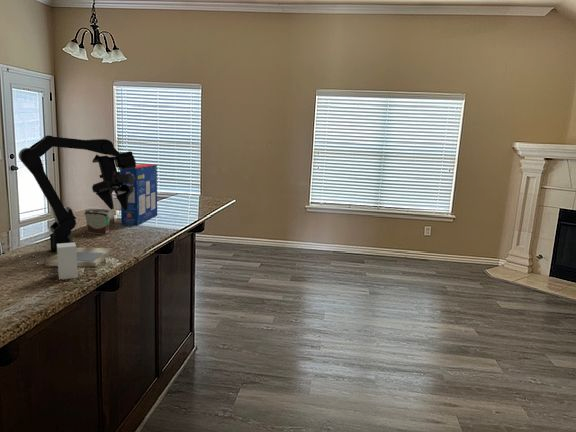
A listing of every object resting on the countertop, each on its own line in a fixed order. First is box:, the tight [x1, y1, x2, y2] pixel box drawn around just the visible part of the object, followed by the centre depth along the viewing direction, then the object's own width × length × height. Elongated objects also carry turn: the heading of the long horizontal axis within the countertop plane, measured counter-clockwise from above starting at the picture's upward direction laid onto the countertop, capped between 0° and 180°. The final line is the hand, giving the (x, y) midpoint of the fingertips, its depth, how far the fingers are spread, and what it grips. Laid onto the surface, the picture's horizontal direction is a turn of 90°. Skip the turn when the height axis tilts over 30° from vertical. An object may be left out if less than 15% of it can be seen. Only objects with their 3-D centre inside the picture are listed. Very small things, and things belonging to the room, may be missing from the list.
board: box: [44, 247, 113, 267], centre depth 148 cm, size 16×18×2 cm
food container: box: [83, 208, 112, 236], centre depth 187 cm, size 12×6×10 cm, turn 74°
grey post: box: [56, 242, 79, 281], centre depth 129 cm, size 5×5×10 cm
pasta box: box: [119, 163, 158, 227], centre depth 216 cm, size 28×8×28 cm, turn 178°
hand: (119, 209), depth 161 cm, fingers open, 9 cm apart
